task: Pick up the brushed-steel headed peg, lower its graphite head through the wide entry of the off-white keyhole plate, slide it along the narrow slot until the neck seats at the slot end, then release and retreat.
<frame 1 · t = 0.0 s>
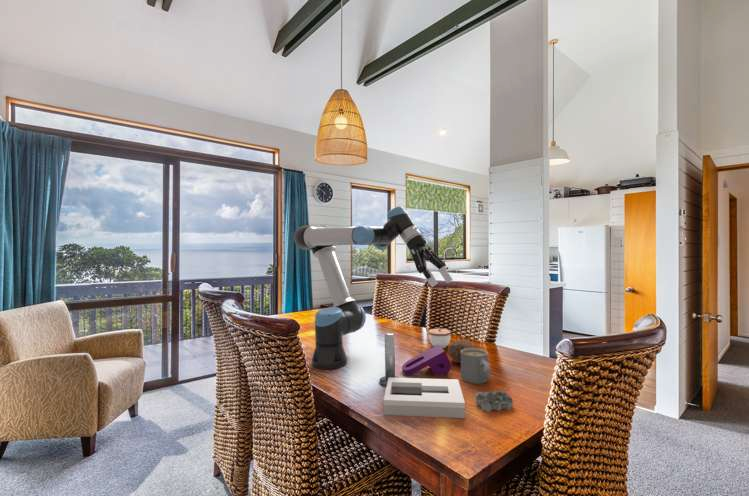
hand: (442, 283, 137), 36 cm above the table, tool tilted 35°, fingers open, 13 cm apart
decorative rock: (461, 362, 153), on the table
lidded jar: (439, 347, 176), on the table
keyhole plate: (423, 402, 115), on the table
mounting bracket: (424, 372, 143), on the table
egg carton: (493, 407, 112), on the table
headed peg: (390, 382, 132), on the table
coffee mug: (476, 380, 133), on the table
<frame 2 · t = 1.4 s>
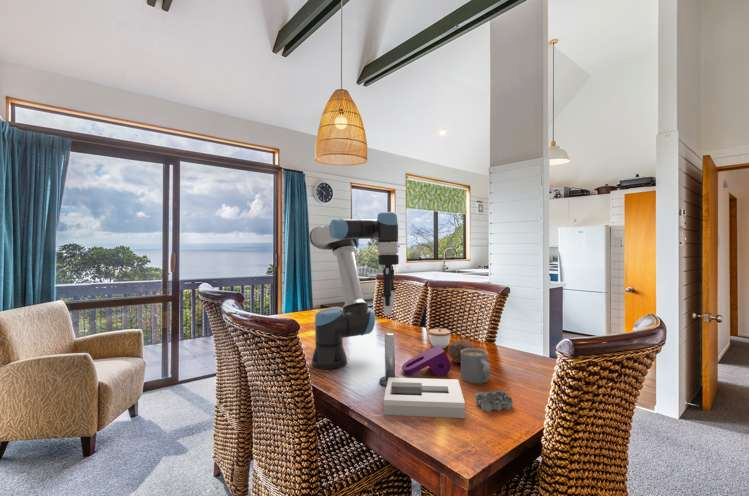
hand: (389, 311, 132), 27 cm above the table, tool pointing down, fingers open, 13 cm apart
nothing on the table moved.
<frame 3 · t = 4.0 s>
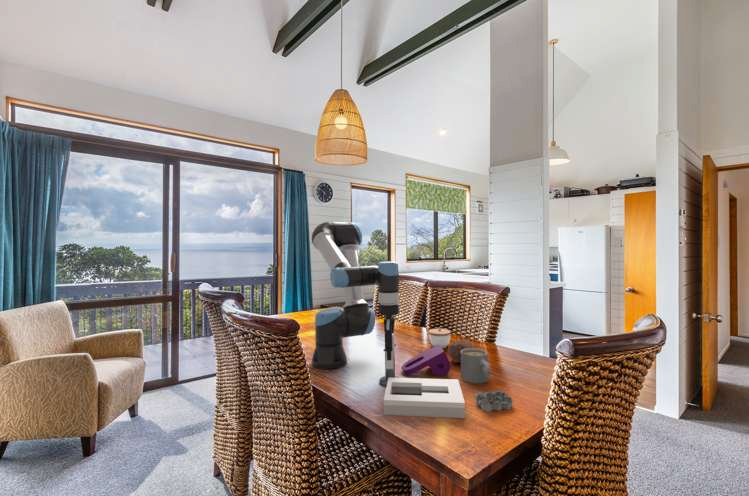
hand: (390, 366, 132), 6 cm above the table, tool pointing down, fingers closed on headed peg, 3 cm apart
headed peg: (390, 382, 132), on the table, touching gripper
everything else where it was.
when the fingers open (7 cm above the table, at t = 13.7 s): headed peg stays where it is, resting in keyhole plate.
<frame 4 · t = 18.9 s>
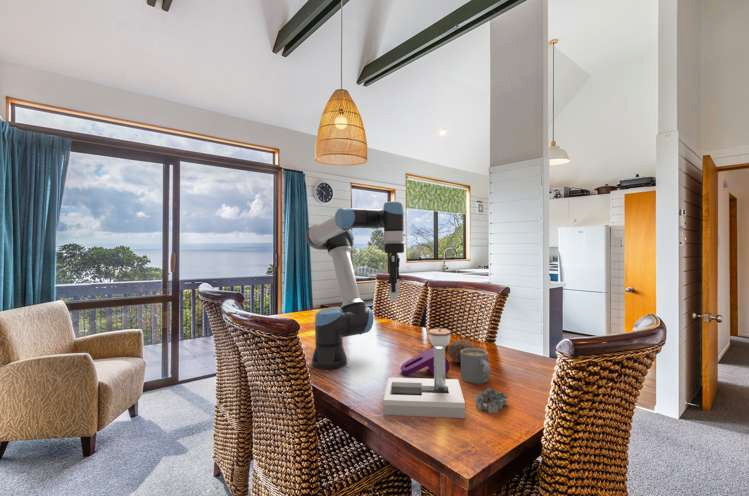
hand: (394, 298, 135), 31 cm above the table, tool pointing down, fingers open, 13 cm apart
headed peg: (440, 403, 114), resting in keyhole plate
at the end: headed peg 0.2 cm from the target spot on the keyhole plate, point 0.0 cm above the keyhole plate's base; headed peg tilted 0°; the gripper is holding nothing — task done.
